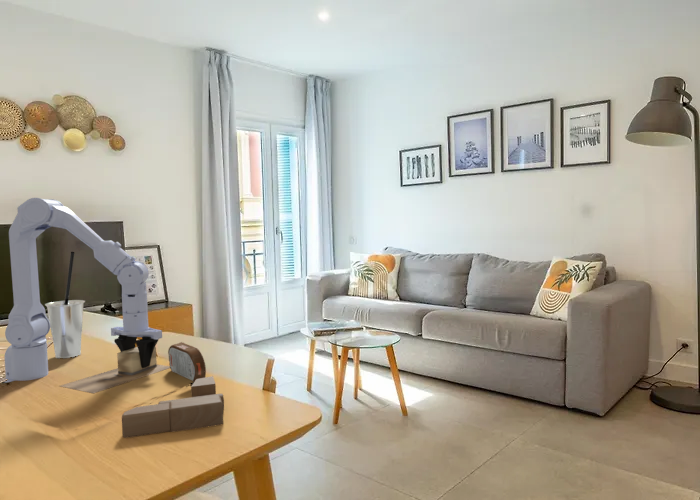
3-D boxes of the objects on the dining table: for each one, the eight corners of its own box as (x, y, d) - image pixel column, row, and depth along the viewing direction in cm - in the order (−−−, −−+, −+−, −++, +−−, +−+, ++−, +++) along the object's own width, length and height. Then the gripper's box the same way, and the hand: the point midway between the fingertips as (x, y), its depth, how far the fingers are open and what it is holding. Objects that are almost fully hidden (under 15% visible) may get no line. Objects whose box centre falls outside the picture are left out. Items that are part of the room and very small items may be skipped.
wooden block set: (227, 396, 96) (120, 410, 90) (228, 426, 97) (122, 442, 91) (218, 371, 112) (127, 382, 106) (219, 397, 113) (128, 409, 107)
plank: (59, 391, 118) (58, 385, 118) (140, 366, 137) (139, 361, 137) (93, 398, 112) (93, 393, 112) (173, 371, 131) (172, 366, 131)
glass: (79, 360, 144) (73, 251, 142) (38, 361, 144) (32, 252, 143) (98, 350, 155) (93, 249, 153) (60, 351, 155) (55, 250, 153)
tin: (207, 385, 120) (206, 349, 119) (194, 389, 117) (193, 352, 117) (179, 372, 131) (177, 339, 130) (166, 375, 129) (165, 341, 128)
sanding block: (118, 373, 127) (117, 353, 126) (142, 364, 134) (142, 345, 134) (132, 375, 125) (131, 354, 125) (156, 366, 132) (155, 346, 132)
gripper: (99, 312, 128) (102, 367, 128) (146, 315, 122) (148, 373, 123) (122, 308, 134) (125, 360, 135) (167, 310, 129) (169, 365, 129)
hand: (137, 366), depth 129 cm, fingers closed on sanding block, 4 cm apart
